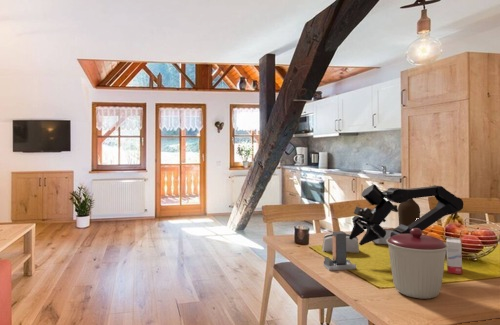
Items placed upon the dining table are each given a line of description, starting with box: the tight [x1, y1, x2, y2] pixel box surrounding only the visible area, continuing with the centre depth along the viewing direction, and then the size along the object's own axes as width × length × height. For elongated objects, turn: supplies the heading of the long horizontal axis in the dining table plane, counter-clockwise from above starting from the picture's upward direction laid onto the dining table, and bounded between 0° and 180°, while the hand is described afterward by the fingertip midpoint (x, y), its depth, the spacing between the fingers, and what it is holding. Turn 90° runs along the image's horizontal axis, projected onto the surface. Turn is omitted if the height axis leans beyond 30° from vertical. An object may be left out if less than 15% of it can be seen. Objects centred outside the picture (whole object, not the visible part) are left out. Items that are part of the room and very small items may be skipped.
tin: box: [371, 226, 395, 246], centre depth 170 cm, size 15×3×8 cm, turn 76°
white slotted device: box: [321, 232, 360, 253], centre depth 159 cm, size 17×5×10 cm, turn 81°
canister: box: [386, 228, 449, 300], centre depth 111 cm, size 18×18×21 cm
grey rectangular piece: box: [323, 256, 357, 272], centre depth 137 cm, size 11×6×4 cm, turn 98°
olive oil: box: [397, 198, 421, 226], centre depth 181 cm, size 11×11×25 cm
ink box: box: [446, 237, 463, 275], centre depth 131 cm, size 9×5×12 cm, turn 150°
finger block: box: [332, 230, 347, 265], centre depth 136 cm, size 4×4×13 cm
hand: (354, 241), depth 137 cm, fingers open, 9 cm apart
